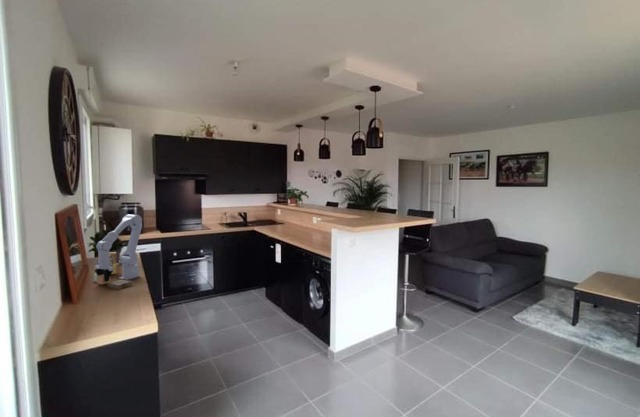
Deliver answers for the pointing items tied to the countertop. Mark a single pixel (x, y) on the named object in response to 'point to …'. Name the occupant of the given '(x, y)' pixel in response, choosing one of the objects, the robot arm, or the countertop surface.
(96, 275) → the sage cube
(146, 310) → the countertop surface
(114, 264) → the candy box
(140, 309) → the countertop surface
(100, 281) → the terracotta cube
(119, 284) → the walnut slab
